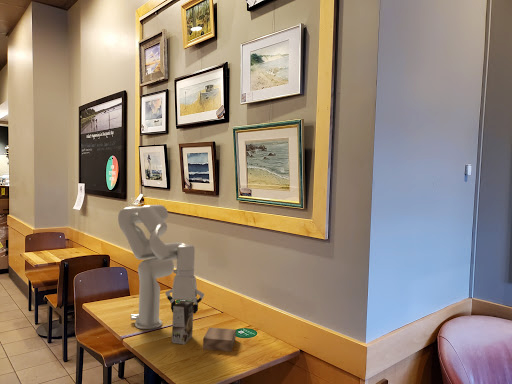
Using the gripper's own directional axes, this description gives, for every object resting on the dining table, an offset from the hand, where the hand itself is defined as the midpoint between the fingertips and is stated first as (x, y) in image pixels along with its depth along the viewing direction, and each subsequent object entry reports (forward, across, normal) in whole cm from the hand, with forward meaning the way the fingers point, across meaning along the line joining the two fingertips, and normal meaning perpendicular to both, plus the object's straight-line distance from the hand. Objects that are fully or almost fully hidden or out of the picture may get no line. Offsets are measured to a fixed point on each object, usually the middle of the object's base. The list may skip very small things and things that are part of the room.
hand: (184, 312), depth 170 cm
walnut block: (+13, +16, 0) cm, 21 cm away
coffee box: (+13, -1, 0) cm, 13 cm away
